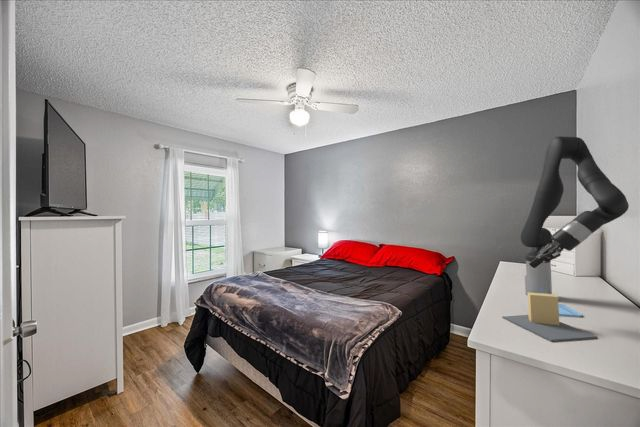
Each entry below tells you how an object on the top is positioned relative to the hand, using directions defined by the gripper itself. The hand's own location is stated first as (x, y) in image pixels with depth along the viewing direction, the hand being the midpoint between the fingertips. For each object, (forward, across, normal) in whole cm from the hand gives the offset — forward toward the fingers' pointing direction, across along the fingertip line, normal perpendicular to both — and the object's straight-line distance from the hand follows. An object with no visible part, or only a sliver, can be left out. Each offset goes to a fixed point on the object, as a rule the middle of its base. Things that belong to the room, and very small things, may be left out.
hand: (531, 266), depth 105 cm
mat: (+13, +11, +14) cm, 23 cm away
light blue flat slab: (+7, -11, +22) cm, 25 cm away
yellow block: (+12, +8, +14) cm, 20 cm away
